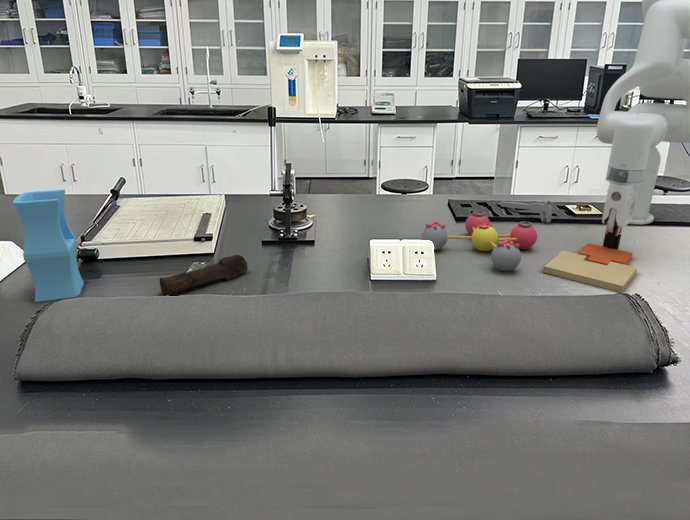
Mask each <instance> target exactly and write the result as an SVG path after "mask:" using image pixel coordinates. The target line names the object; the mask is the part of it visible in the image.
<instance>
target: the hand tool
mask: <svg viewBox="0 0 690 520" xmlns="http://www.w3.org/2000/svg"><path fill="white" fill-rule="evenodd" d="M246 272H248V263H247V260H246V259H245V257H244V256H242V255H241V254H233V255H230V256H226V257H222V258H220V259H219V260H218V262H217V263H215V264H210V265H208V266H207V265H206V266H204V267H200V268H198V269H194V270H189V271H187V272H186V271H185V272H182V273H178V274H174V275H171V276H167V277H160V278H159V286H160V290H161V293H162V294H163V296H165V295H170V296H171V295H174V296H175V295H177V294H178V293H179V292H182V291H183V292H184V291H186V290H189V289H192V288H196V287H200V286H203V285H206V284H209V283H211V282H215V281H218V280H223V281H230V280H233V279H235V278H237V277H239V276H241V275H243V274H245V273H246Z"/></svg>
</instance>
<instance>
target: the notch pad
mask: <svg viewBox="0 0 690 520" xmlns="http://www.w3.org/2000/svg"><path fill="white" fill-rule="evenodd" d="M586 259H587V256H584V255H580V254H578V253H575V252H571V251H566V250H562V251H560V252H559V253H558V254H556V256H554V257H553V258H552V259H551V260H550V261H549V262H547V263H546V264H545V265H544V266H543V273H544V274H548V275H552V276H556V277H560V278H564V279H567V280H572V281H574V282H575V281H576V282H580V283H583V284H587V285H591V286H595V287H598V288H603V289H606V290H610V291H614V292H618V293H623V292H624V291H625V289H626V288H627V286H628V285H629V284H630V283H631V281H632V280H633V278H634V277H635V276H636V274H637V271H638V267H637V266H632V265H629V264H627V265H624V264H620V263H615V262H611V261H610V263H609V264H608V265H607V266H606V265H602V264H598V263H593V262H589V261H586Z"/></svg>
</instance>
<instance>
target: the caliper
mask: <svg viewBox="0 0 690 520" xmlns="http://www.w3.org/2000/svg"><path fill="white" fill-rule="evenodd" d="M497 205H499V206H500V207H501V208H511V209H519V210H520V209H521V210H529V211H530V214H531V213H533V214H538V213H539V216H540V221H541V222H542V223H551V222H552V215H553V206H552V204H551V201H550V200H543V203H539V202H531V203H523V202H512V201H500V202H498V203H497Z"/></svg>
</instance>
